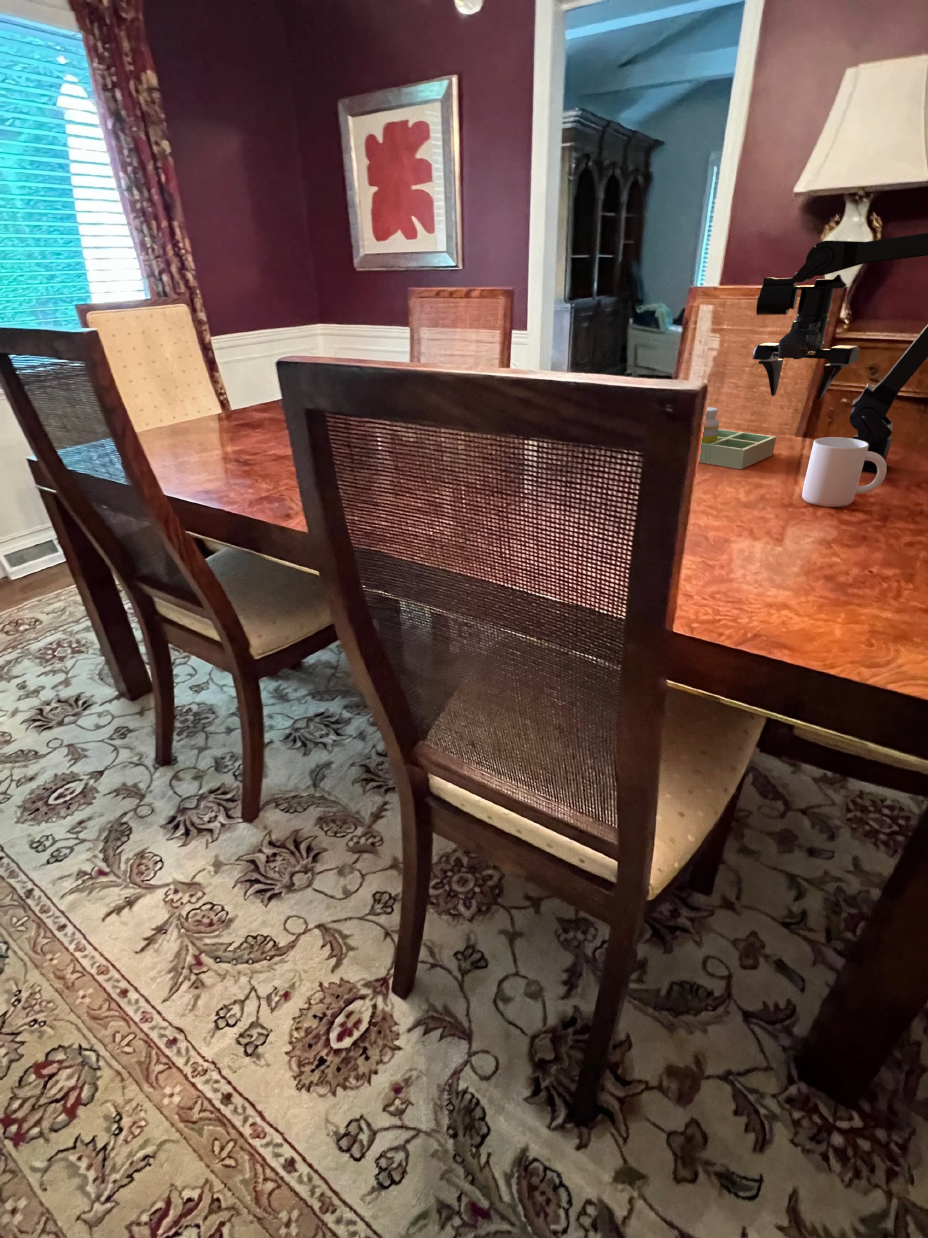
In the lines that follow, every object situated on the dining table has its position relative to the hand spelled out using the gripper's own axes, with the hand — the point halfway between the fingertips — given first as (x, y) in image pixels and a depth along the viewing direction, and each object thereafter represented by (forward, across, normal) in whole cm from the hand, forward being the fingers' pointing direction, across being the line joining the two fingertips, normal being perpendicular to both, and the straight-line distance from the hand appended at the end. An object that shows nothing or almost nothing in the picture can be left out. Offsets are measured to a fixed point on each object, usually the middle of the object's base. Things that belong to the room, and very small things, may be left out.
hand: (795, 397), depth 129 cm
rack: (+13, -11, -5) cm, 18 cm away
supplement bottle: (+12, -14, -9) cm, 21 cm away
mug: (+13, +19, -22) cm, 32 cm away
